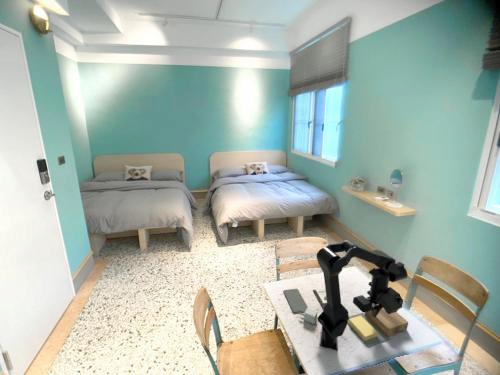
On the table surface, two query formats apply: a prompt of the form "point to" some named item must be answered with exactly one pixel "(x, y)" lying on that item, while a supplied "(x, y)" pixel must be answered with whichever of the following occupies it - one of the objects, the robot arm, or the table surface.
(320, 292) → the chocolate bar
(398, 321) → the block
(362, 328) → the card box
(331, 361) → the table surface
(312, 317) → the usb wall charger
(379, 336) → the mat
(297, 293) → the smartphone
